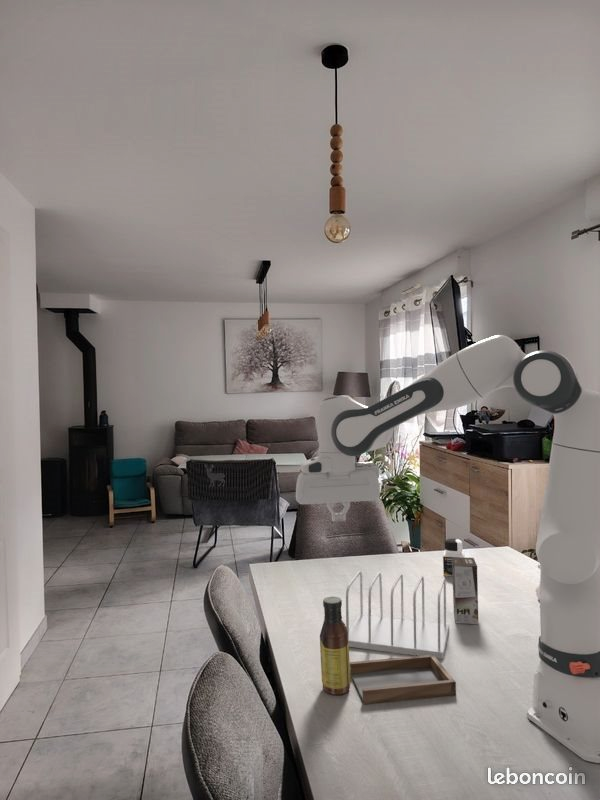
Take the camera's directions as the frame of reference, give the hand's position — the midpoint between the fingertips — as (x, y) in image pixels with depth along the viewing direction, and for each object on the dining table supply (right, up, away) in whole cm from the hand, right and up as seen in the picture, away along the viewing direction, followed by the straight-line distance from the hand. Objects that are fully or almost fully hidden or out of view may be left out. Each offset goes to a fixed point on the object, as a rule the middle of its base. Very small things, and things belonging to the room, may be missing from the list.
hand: (338, 520), depth 136 cm
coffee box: (+38, -33, +25) cm, 56 cm away
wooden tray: (+13, -34, -11) cm, 38 cm away
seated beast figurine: (+67, -32, +36) cm, 83 cm away
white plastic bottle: (+46, -33, +65) cm, 86 cm away
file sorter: (+16, -34, +13) cm, 40 cm away
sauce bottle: (-1, -34, -12) cm, 37 cm away
